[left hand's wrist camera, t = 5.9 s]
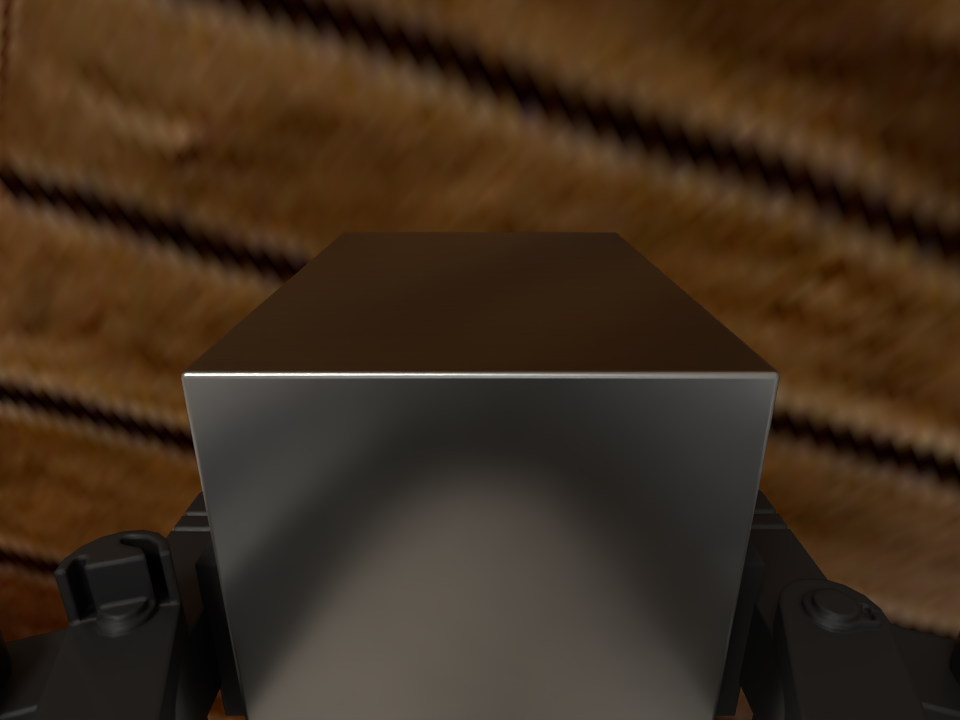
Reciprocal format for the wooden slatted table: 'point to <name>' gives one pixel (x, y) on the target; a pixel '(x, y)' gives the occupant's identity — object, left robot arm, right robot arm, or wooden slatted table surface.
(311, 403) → the bar
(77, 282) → the wooden slatted table surface
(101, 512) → the wooden slatted table surface
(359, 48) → the wooden slatted table surface
